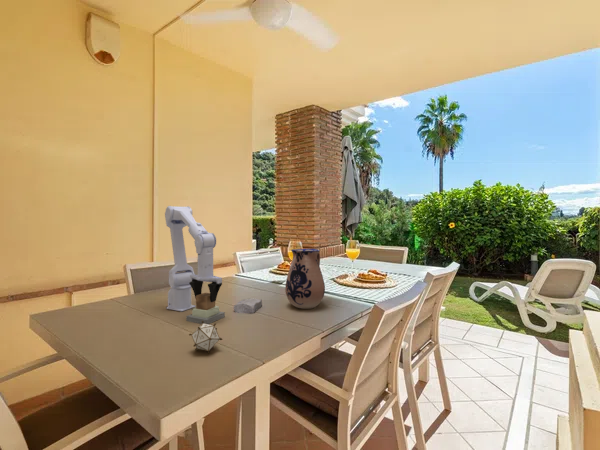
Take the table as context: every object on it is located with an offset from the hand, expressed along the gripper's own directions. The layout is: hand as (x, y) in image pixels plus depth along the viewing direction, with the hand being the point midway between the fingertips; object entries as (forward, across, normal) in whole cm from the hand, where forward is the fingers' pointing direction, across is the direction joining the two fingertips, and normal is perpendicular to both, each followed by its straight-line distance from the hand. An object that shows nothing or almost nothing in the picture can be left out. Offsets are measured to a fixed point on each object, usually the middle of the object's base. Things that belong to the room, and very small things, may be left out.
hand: (205, 300), depth 115 cm
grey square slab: (+8, 0, 0) cm, 8 cm away
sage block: (+5, 0, 0) cm, 5 cm away
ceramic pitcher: (+7, +27, +34) cm, 44 cm away
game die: (+8, +20, -21) cm, 30 cm away
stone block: (+8, +6, +18) cm, 20 cm away
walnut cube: (+3, 0, 0) cm, 3 cm away
